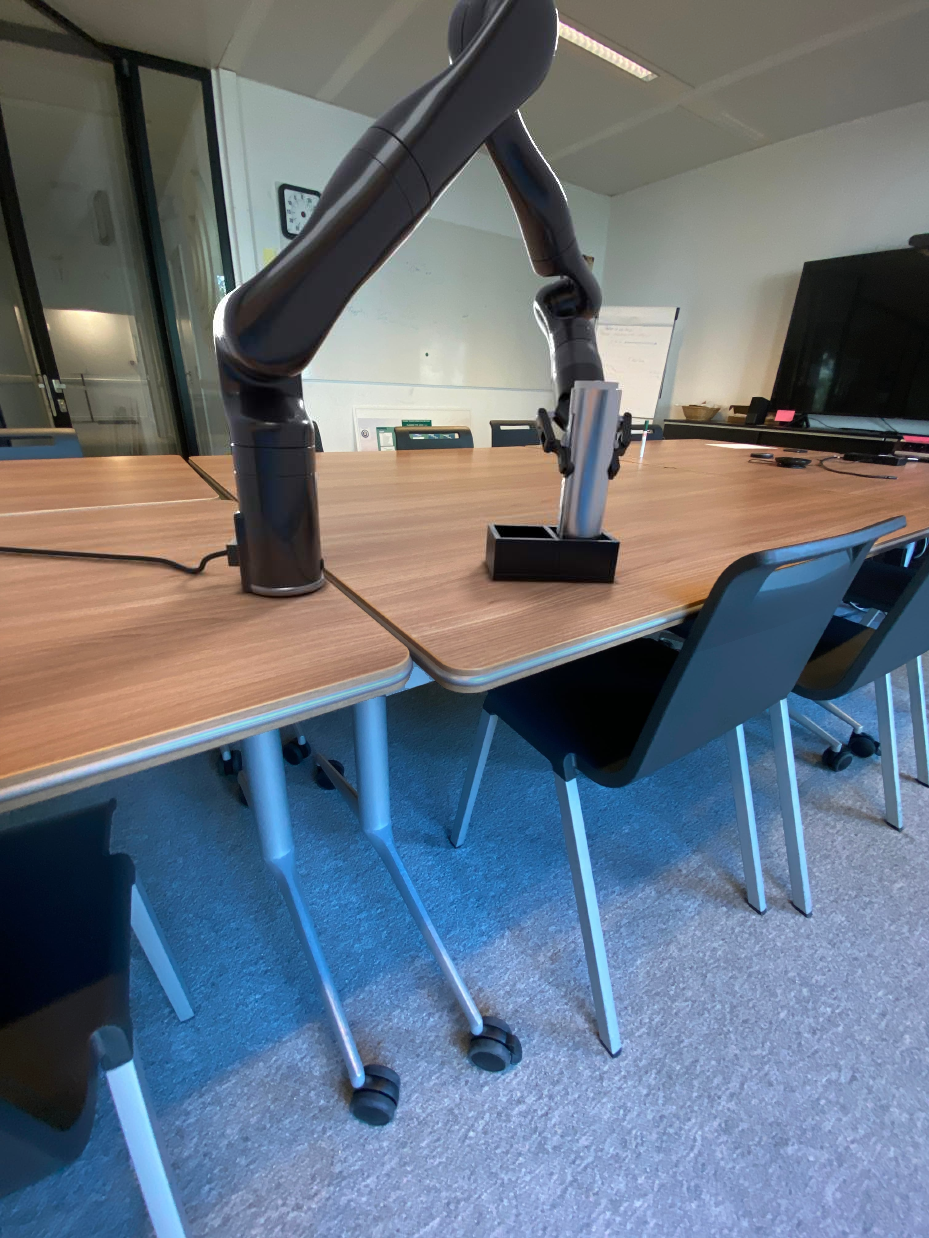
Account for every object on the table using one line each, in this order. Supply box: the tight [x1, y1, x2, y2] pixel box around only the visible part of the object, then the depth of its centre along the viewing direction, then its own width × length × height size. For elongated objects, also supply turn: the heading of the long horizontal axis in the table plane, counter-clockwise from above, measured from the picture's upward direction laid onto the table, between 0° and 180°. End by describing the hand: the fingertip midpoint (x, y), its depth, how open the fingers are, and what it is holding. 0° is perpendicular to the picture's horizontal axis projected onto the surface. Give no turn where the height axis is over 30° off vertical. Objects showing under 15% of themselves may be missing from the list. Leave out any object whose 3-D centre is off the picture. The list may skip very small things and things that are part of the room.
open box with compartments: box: [484, 523, 621, 584], centre depth 78 cm, size 17×9×6 cm, turn 95°
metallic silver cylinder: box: [556, 380, 623, 540], centre depth 74 cm, size 6×6×25 cm
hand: (590, 475), depth 72 cm, fingers closed on metallic silver cylinder, 5 cm apart
